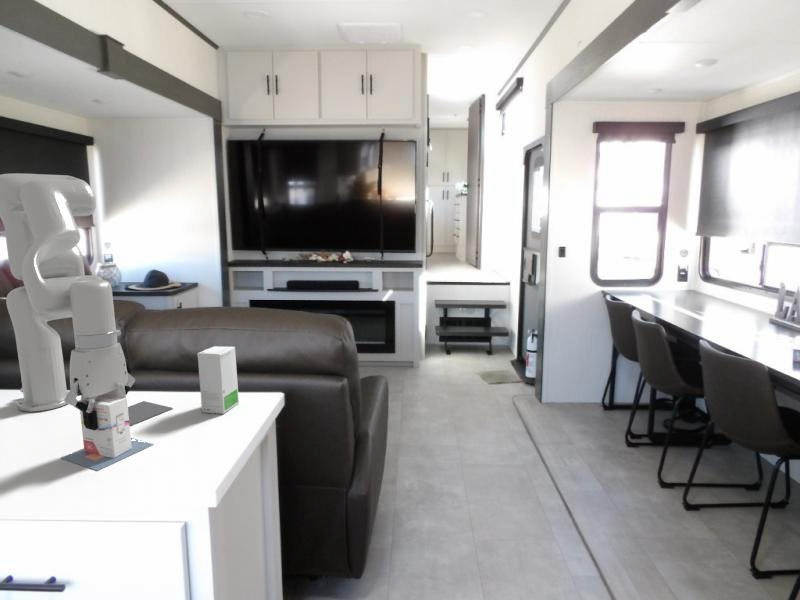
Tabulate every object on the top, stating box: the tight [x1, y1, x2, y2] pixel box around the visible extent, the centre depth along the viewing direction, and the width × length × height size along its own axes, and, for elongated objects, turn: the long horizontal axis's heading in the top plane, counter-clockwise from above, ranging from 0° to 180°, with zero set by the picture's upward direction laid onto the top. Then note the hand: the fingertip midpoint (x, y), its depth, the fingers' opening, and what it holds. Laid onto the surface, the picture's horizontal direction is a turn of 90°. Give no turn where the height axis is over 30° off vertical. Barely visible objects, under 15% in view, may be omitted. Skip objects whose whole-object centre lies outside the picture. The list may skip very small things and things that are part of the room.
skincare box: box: [196, 346, 240, 415], centre depth 136 cm, size 8×7×16 cm
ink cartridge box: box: [78, 384, 132, 458], centre depth 112 cm, size 9×5×15 cm, turn 71°
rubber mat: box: [128, 400, 174, 427], centre depth 134 cm, size 11×12×1 cm
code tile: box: [60, 437, 154, 472], centre depth 113 cm, size 12×13×1 cm
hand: (105, 422), depth 112 cm, fingers closed on ink cartridge box, 5 cm apart
